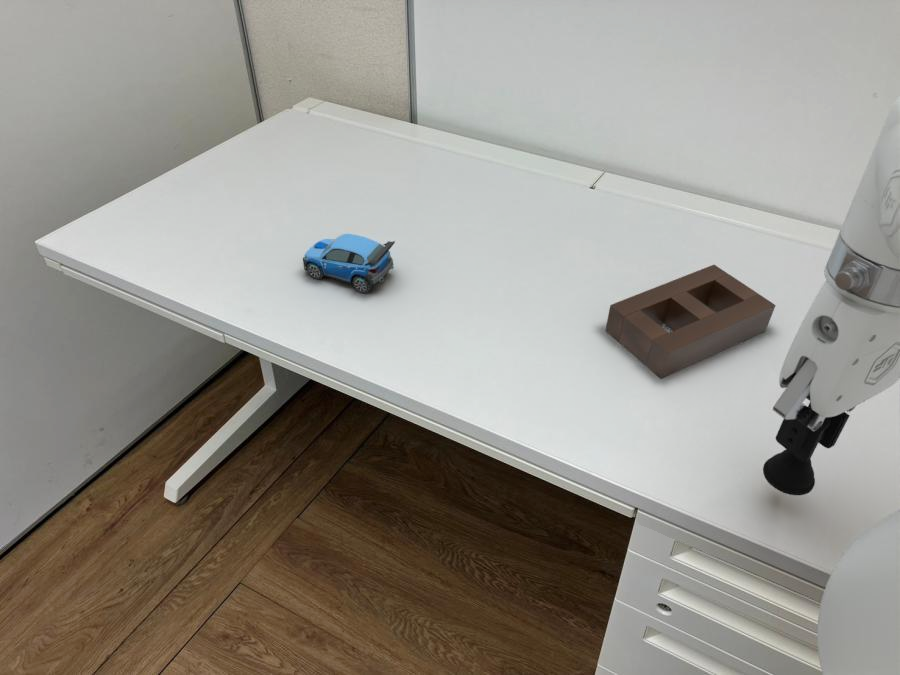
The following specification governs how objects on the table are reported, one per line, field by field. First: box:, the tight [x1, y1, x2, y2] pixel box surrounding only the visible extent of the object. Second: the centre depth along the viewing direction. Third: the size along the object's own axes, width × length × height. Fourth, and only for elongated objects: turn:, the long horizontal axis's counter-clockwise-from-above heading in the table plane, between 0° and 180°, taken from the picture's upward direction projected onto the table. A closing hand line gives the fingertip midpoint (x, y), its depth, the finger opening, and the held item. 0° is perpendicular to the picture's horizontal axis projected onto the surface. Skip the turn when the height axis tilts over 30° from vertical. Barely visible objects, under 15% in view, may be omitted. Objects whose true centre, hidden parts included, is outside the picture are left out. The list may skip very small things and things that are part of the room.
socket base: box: [605, 264, 776, 380], centre depth 84 cm, size 10×17×4 cm, turn 120°
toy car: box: [302, 233, 396, 294], centre depth 92 cm, size 6×12×6 cm, turn 66°
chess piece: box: [762, 407, 830, 496], centre depth 61 cm, size 4×4×10 cm
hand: (804, 442), depth 61 cm, fingers closed on chess piece, 2 cm apart
